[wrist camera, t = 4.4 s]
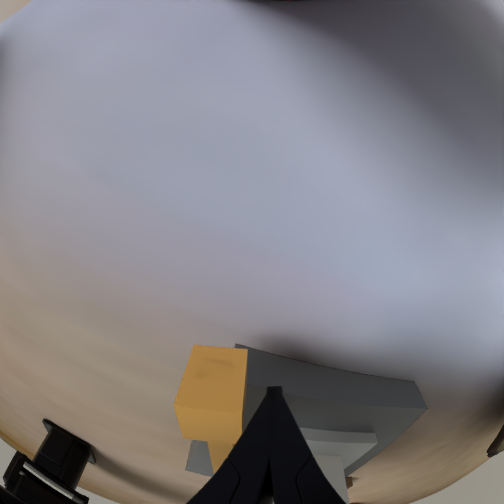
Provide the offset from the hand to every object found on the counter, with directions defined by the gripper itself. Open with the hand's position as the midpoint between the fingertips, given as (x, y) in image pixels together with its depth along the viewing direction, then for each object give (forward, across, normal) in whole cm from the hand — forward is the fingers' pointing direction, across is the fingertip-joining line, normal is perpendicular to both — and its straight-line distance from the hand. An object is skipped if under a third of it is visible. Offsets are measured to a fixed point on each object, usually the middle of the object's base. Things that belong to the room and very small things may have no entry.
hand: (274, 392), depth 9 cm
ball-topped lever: (+1, +3, +6) cm, 7 cm away
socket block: (+4, -1, +9) cm, 10 cm away
